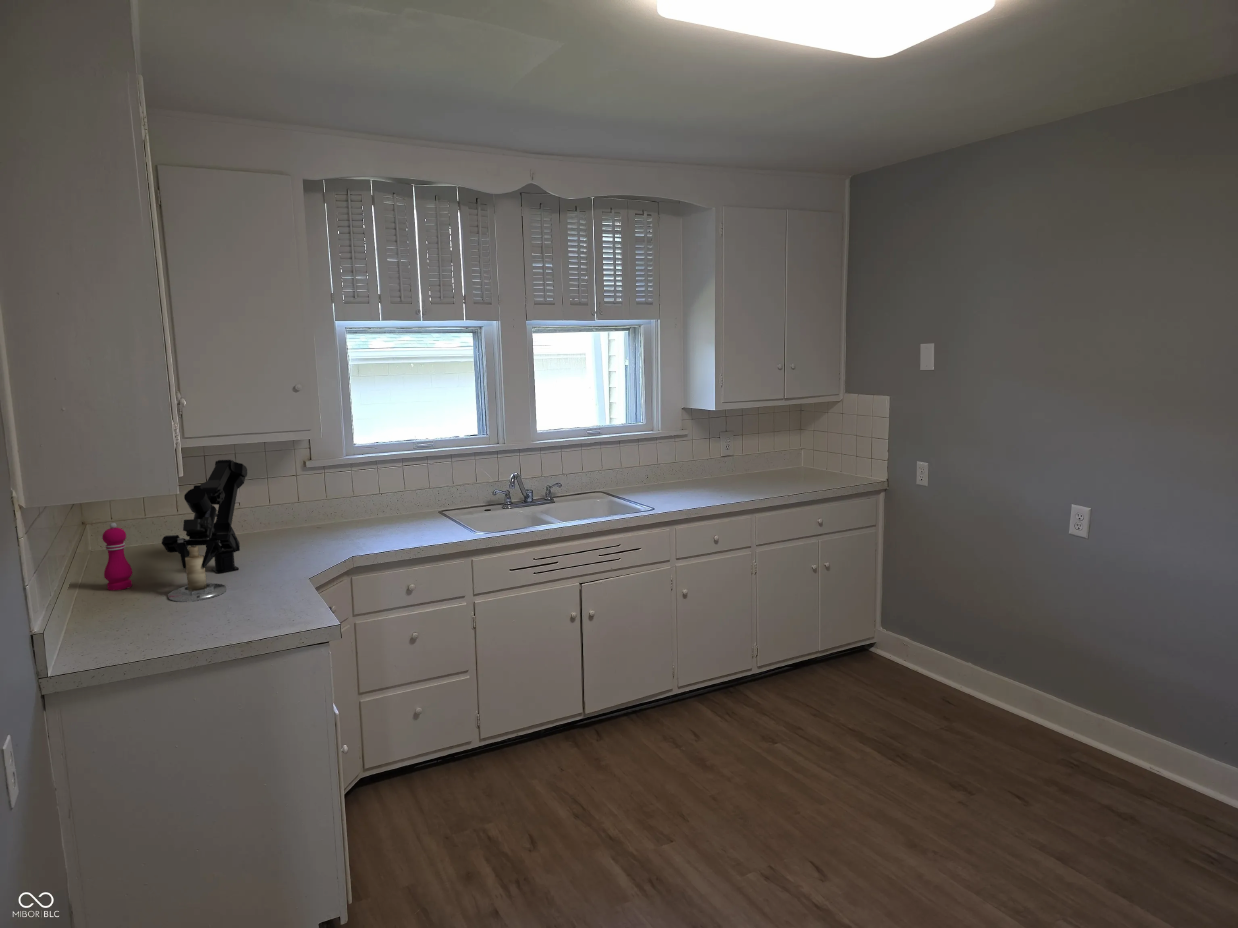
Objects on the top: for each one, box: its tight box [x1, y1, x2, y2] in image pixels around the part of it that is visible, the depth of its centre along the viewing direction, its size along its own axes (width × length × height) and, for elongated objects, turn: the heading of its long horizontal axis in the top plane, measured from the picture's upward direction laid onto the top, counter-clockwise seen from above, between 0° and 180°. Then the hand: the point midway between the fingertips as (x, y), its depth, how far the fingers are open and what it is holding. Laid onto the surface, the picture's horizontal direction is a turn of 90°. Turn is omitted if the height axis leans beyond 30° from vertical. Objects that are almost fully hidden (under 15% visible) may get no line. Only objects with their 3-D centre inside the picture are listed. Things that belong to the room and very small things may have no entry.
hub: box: [167, 582, 227, 603], centre depth 230 cm, size 15×15×2 cm
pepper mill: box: [101, 522, 134, 591], centre depth 236 cm, size 7×7×20 cm
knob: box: [185, 546, 207, 591], centre depth 229 cm, size 5×5×13 cm
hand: (193, 567), depth 228 cm, fingers open, 5 cm apart
